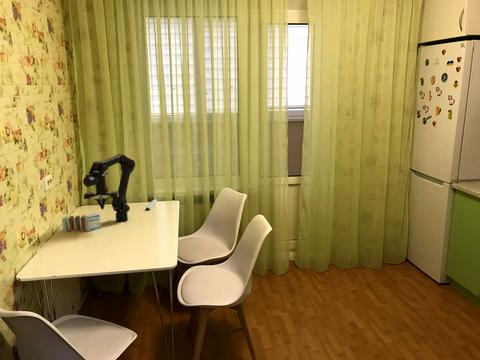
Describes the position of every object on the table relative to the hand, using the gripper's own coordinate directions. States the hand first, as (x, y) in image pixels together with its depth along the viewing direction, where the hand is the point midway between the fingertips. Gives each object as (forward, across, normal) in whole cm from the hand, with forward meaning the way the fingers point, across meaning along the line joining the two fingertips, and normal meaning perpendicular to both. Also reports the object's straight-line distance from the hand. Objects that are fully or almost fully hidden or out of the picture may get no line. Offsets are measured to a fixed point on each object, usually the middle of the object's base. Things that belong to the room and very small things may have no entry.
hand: (102, 209), depth 231 cm
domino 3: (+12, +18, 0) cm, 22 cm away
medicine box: (+12, +7, 0) cm, 14 cm away
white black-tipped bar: (+13, -21, -44) cm, 51 cm away
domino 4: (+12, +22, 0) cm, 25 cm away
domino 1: (+12, +12, 0) cm, 17 cm away
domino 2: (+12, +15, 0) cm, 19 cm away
